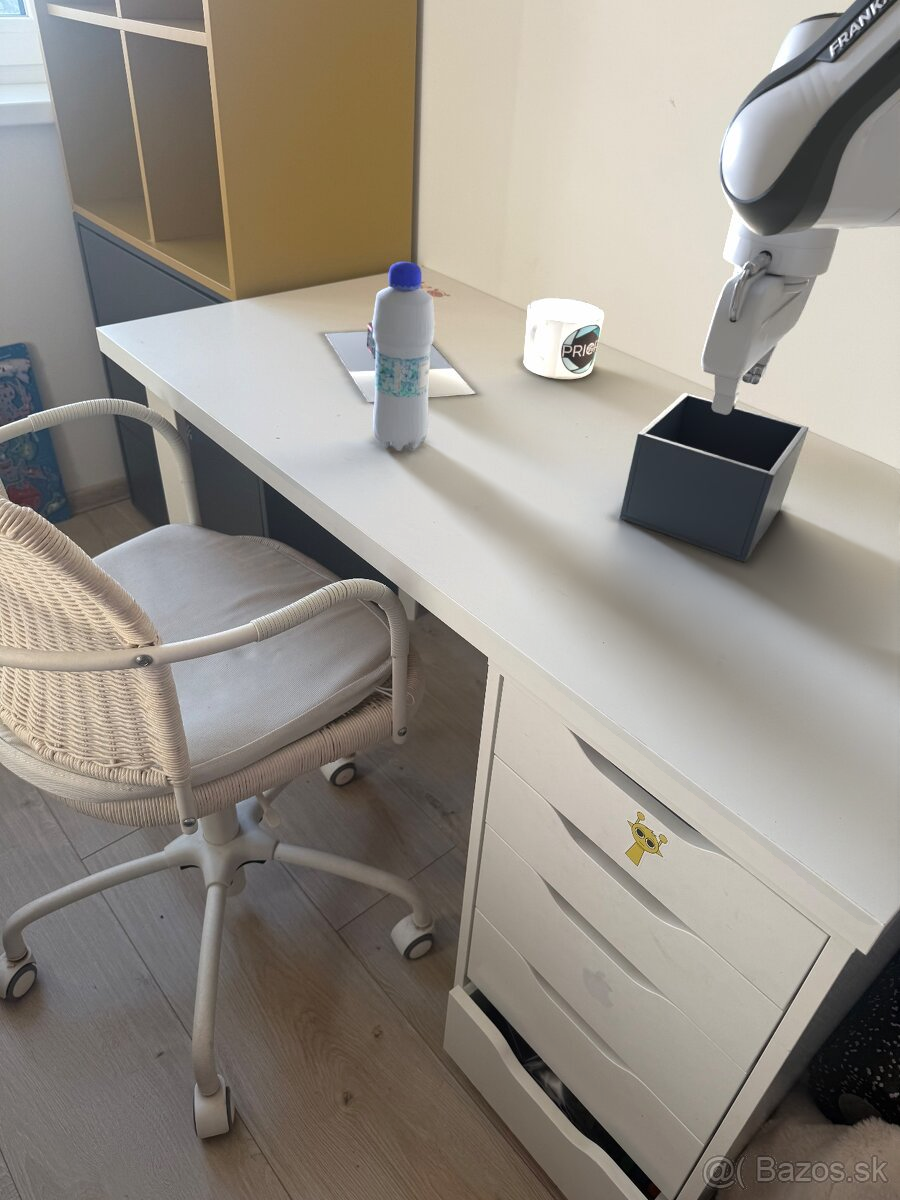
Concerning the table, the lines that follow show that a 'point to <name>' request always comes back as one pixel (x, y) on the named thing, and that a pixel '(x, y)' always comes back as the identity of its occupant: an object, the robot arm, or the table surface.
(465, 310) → the table surface
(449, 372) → the shiny metal sheet
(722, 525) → the bin
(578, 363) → the mug
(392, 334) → the bottle
